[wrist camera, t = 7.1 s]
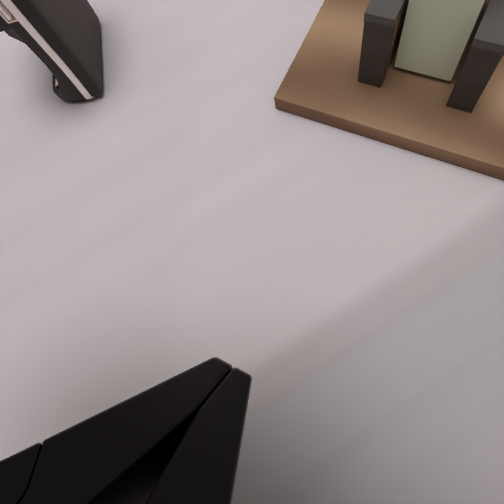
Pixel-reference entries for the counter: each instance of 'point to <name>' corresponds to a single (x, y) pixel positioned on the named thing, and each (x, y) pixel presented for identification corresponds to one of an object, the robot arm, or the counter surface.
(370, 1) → the wooden channel stand
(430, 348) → the counter surface
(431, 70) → the bar
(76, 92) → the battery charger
